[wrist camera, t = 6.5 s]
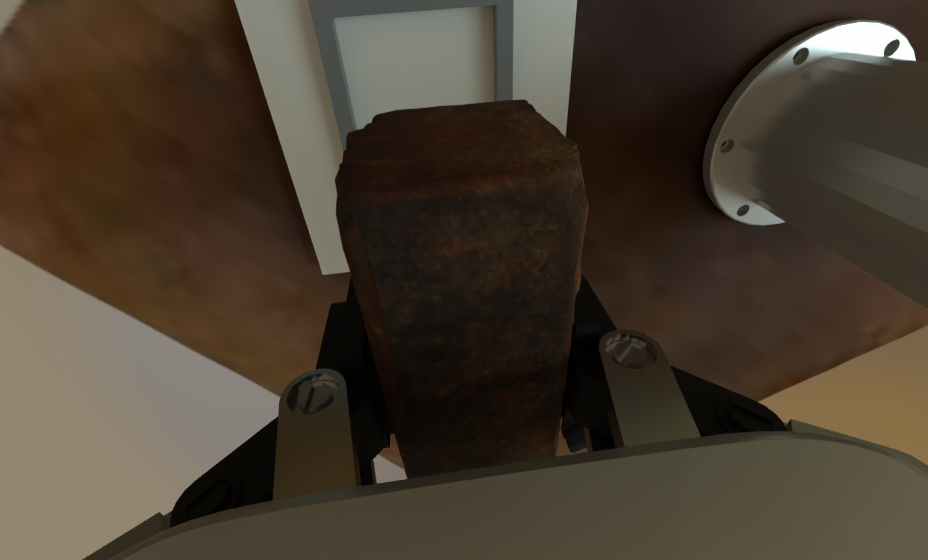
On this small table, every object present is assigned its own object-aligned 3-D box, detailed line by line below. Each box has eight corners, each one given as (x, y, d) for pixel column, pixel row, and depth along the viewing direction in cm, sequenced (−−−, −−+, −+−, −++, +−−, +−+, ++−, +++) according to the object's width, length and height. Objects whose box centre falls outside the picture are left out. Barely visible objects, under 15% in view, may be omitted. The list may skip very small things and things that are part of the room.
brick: (351, 108, 9) (312, 196, 5) (526, 92, 9) (609, 165, 6) (413, 405, 15) (416, 543, 12) (517, 391, 16) (553, 522, 12)
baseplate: (572, -45, 20) (588, -49, 18) (551, 238, 29) (560, 255, 28) (236, -22, 19) (219, -22, 17) (325, 265, 28) (320, 283, 27)
